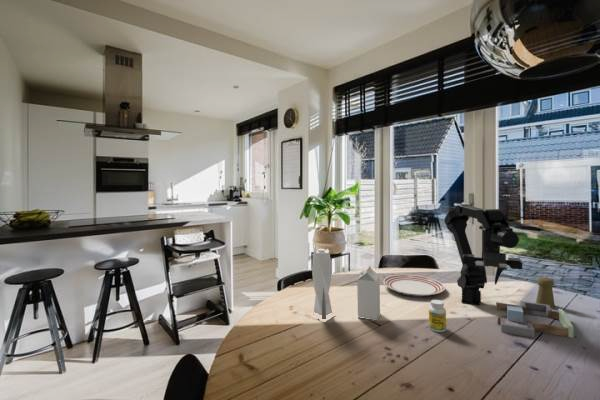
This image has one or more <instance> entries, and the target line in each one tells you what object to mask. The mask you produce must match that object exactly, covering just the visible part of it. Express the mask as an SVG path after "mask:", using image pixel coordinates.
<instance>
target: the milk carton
mask: <svg viewBox="0 0 600 400" xmlns="http://www.w3.org/2000/svg"><path fill="white" fill-rule="evenodd" d="M359 275H360V276H359V277H358V278H357V281H356V283H357V285H356V286H357V288H356V289H357V290H356V291H357V317H358V316H359V317H364V318H369V319H373V320H372V321H374V320H377V321H378V319H379V317H380V315H381V297H380V296H381V288H380V284H381V283H380V282H381V281H380V280H381V279H380V278H381V277H380V275H379V274H378V273H377V272H376V271H375V270H373V268H372V267H371V265H368V267H367V268H366V269H362V270H361V271H360V272H359ZM379 314H380V315H379ZM378 316H379V317H378Z"/></svg>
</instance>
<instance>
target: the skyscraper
mask: <svg viewBox="0 0 600 400" xmlns="http://www.w3.org/2000/svg"><path fill="white" fill-rule="evenodd" d="M312 255H313V256H312V267H311V270H312V271H311V273H312V284H313V289H314V292H315V293H314V294H315V300H314V308H313V309H314V310H313V313H314V312H315V313H318V314H319V315H322V319H326V315H328V314H330V313H332V314H333V309H332V304H331V298H330V289H331V283H332V274H333V272H332V268H333V267H332V260H331V254H330V250H329V248H326V249H325V248H318V249H316V245H315V244H313V254H312Z"/></svg>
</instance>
